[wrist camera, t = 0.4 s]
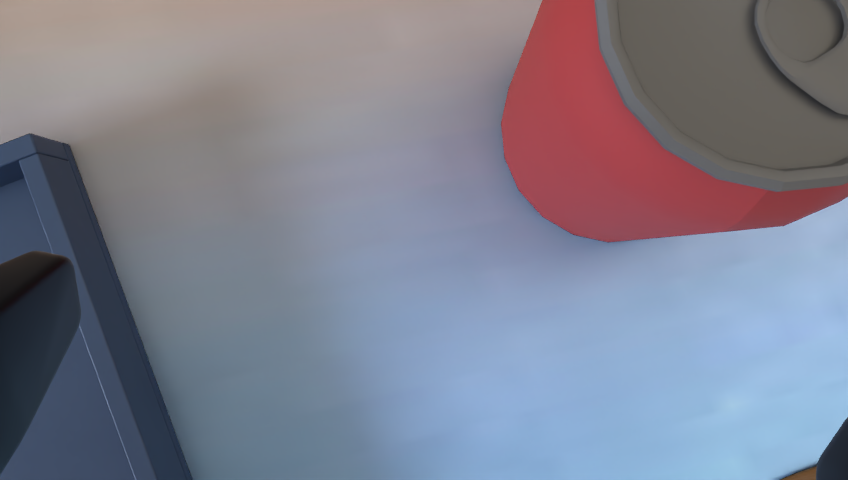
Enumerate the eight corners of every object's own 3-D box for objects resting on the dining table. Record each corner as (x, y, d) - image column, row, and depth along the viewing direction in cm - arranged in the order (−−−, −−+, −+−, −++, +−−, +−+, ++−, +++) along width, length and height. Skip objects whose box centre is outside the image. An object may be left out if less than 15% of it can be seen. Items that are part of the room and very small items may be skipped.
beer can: (576, 284, 23) (725, 316, 11) (457, 100, 23) (472, -72, 11) (763, 165, 23) (1124, 62, 11) (642, -19, 23) (861, -323, 11)
